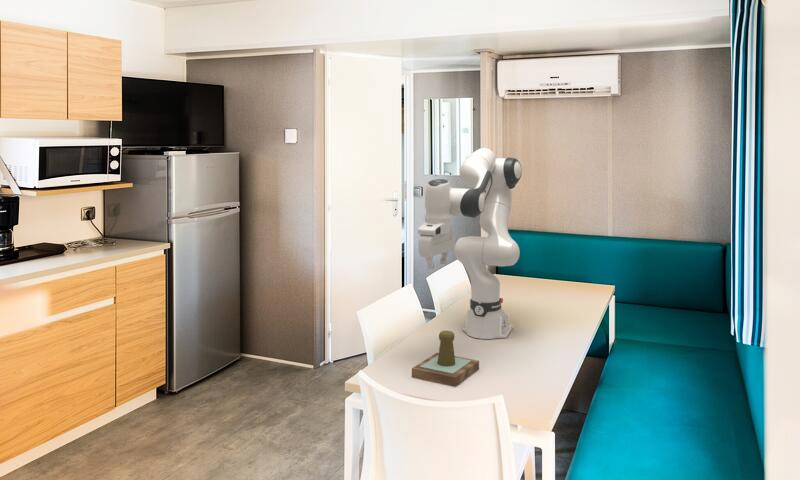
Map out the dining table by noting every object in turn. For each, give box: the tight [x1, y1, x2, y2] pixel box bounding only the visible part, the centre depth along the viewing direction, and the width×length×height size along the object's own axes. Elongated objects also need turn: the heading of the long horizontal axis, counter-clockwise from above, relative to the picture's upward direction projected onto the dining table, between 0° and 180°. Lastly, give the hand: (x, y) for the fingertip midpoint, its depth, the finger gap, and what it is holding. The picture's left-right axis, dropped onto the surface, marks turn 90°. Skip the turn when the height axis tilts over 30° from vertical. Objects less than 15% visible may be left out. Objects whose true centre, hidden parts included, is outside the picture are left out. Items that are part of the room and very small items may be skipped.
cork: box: [437, 329, 456, 366], centre depth 216 cm, size 6×6×11 cm
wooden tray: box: [411, 352, 480, 387], centre depth 217 cm, size 18×16×3 cm
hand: (437, 266), depth 227 cm, fingers open, 8 cm apart
